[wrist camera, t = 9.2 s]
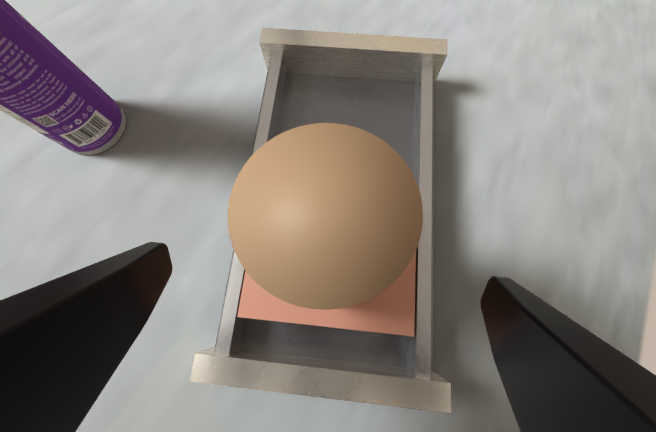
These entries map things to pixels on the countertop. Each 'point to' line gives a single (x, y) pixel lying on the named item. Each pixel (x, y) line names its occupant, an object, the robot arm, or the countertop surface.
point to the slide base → (418, 152)
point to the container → (53, 90)
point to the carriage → (327, 231)
